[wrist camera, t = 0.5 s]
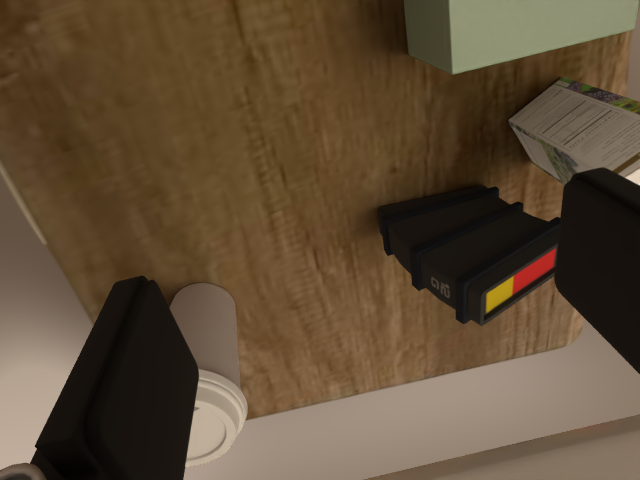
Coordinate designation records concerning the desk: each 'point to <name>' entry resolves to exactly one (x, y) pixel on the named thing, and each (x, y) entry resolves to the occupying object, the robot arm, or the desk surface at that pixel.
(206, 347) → the coffee cup
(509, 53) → the cabinet
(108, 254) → the desk surface
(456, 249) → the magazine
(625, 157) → the syrup box
